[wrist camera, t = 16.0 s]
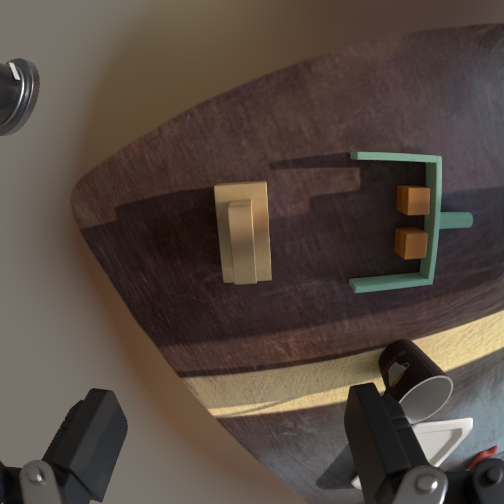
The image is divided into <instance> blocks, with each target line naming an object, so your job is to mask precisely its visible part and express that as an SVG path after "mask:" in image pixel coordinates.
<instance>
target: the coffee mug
mask: <svg viewBox="0 0 504 504" xmlns="http://www.w3.org/2000/svg"><path fill="white" fill-rule="evenodd" d="M378 365H379V369H380V372H381V375H382V378H383V381H384V384H385V387H386V390H385V393H384V395H387V394H389V395H390V396H391V397H393V398H394V399H395V400H396V401H397V402H399V403H400V405H401V407H402V409H403V411H404V413H405V417H407V419H408V421H409V423H410V424H414V423H418V422H420V421H423V420H425V419H427V418H428V417H430V416H432V415H433V414H434V413H436V412H437V411H438V410H439V409H440V408H441V407H442V406H443V405H444V404H445V403H446V402H447V400H448V399H449V397H450V395H451V393H452V390H453V382H452V380H451V378H450V377H448V376H447V375H446V374H445V373H444V372H443V371H442V370H441V369H440V368H439V367H438V366H437V365H436V364H435V363H434V362H433V361H432V360H431V359H430V358H429V357H428V356H427V355H426V354H425V353H424V352H423V351H422V350H421V349H420V348H419V347H418V346H417V345H416V344H414V343H413V342H412V341H410V340H399V341H396V342H394V343H392V344H391V345H389V346H388V347H387V348H386V349H385V350H384V351H383V353H382V354H381V356H380V358H379V363H378Z"/></svg>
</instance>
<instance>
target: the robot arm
mask: <svg viewBox="0 0 504 504" xmlns="http://www.w3.org/2000/svg"><path fill="white" fill-rule="evenodd" d="M9 64H10V65H6V64H2V63H0V127H4V126H6V125H8V124H9V123H10V122H11V121H12V120H13V119H14V118H15V116H16V115H17V113H18V112H19V110H20V108H21V106H22V103H23V100H24V97H25V93H26V76H25V73H24V71H23V70H22V69H21V68H20V67H17V66H14V63H10V62H9ZM344 425H345V431H346V435H347V438H348V442H349V445H350V449H351V452H352V456H353V459H354V463H355V466H356V470H357V473H358V477H359V481H360V484H361V488H362V492H363V495H364V499H365V503H366V504H504V462H503V461H502V460H500V459H497V458H489V459H486V460H483V461H482V462H480V463H479V464H478V465H477V466H476V468H475V469H474V470H468V471H460V472H443V471H442V470H441V469H439V468H438V467H436V466H432V465H431V464H430V463H429V462H428V460H427V458H426V456H425V454H424V452H423V450H422V448H421V446H420V443H419V441H418V439H417V437H416V435H415V433H414V431H413V429H412V427H410V423H409V421H408V419H407V417H405V413H404V411H403V409H402V407H401V405H400V403H399V402H397V401H396V400H395V399H394V398H393V397H391V396H390V395H389V394H387V395H383V396H380V394H379V392H378V390H377V388H376V386H375V384H374V383H373V382H371V383H366V384H360V385H354V386H351V387H350V389H349V394H348V399H347V405H346V410H345V415H344ZM127 427H128V425H127V420H126V417H125V415H124V413H123V411H122V409H121V407H120V405H119V402H118V400H117V398H116V396H115V394H114V393H113V391H111V390H102V389H95V388H93V389H91V390H90V391H89V393H88V394H87V396H86V398H85V399H84V400H80V401H79V402H78V403H77V404H75V405H74V406H73V407H72V408H71V409H70V410H69V412H68V414H67V416H66V417H65V421H63V422H62V424H61V426H60V429H59V430H58V432H57V433H56V435H55V437H54V439H53V440H52V442H51V444H50V446H49V447H48V449H47V451H46V453H45V455H44V457H43V458H42V460H33V461H30V462H28V463H27V464H25V465H24V467H23V468H15V467H5V466H4V464H3V463H2V462H1V461H0V504H1V503H3V504H89V502H90V500H95V501H98V502H102V501H103V498H104V495H105V492H106V489H107V486H108V484H109V481H110V478H111V475H112V472H113V470H114V467H115V464H116V461H117V458H118V456H119V453H120V450H121V447H122V445H123V442H124V440H125V437H126V434H127Z"/></svg>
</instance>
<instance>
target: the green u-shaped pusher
mask: <svg viewBox="0 0 504 504" xmlns="http://www.w3.org/2000/svg"><path fill="white" fill-rule="evenodd" d="M350 159H357V160H395V161H416V162H426V188H430V202H429V215H425V218H424V231H425V232H427V233H428V237H427V248H426V257H425V258H421V263H420V272H415V273H406V274H396V275H386V276H376V277H365V278H354V279H349V285H350V287H351V288H352V290H353V291H354V292H355V293H361V292H371V291H380V290H389V289H398V288H406V287H414V286H422V285H430V284H432V283H433V276H434V269H435V262H436V254H437V245H438V235H439V229H446V228H469V227H471V226H472V224H473V217H472V214H471V213H470V212H440V208H441V175H442V164H441V156H432V155H419V154H403V153H381V152H350Z"/></svg>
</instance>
